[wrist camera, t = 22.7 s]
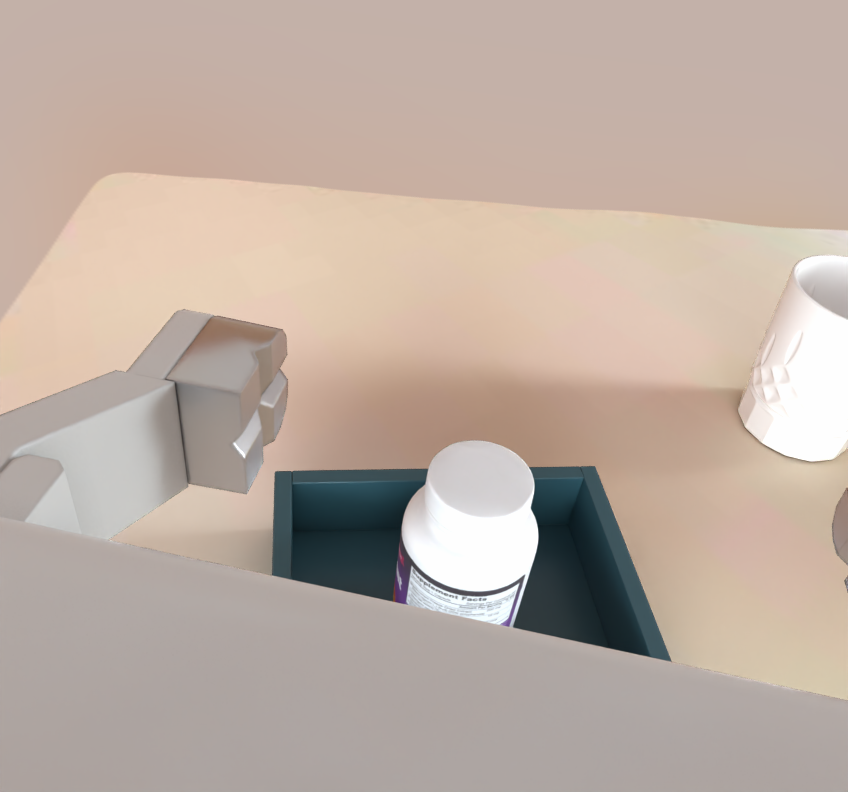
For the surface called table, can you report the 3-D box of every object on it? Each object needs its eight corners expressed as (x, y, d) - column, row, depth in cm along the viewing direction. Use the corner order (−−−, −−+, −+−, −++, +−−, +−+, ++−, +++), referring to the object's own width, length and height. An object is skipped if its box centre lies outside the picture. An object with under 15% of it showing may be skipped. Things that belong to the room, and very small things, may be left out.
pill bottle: (421, 558, 38) (445, 408, 31) (525, 606, 36) (573, 458, 30) (366, 646, 34) (382, 495, 28) (481, 704, 32) (525, 558, 26)
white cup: (702, 398, 51) (762, 264, 44) (790, 374, 54) (858, 246, 47) (791, 483, 45) (875, 346, 39) (883, 452, 48) (974, 320, 42)
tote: (576, 519, 41) (595, 465, 39) (657, 757, 32) (690, 708, 29) (276, 527, 39) (274, 470, 36) (270, 788, 30) (267, 737, 27)
